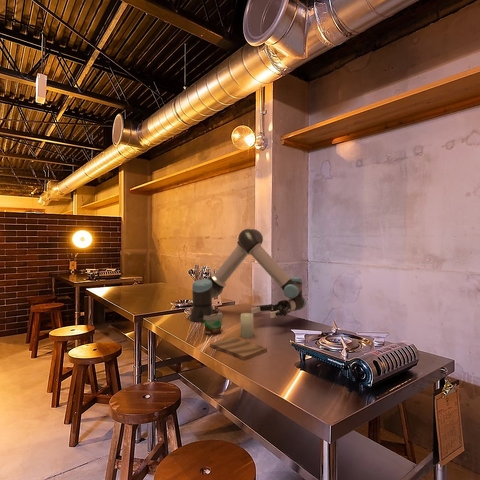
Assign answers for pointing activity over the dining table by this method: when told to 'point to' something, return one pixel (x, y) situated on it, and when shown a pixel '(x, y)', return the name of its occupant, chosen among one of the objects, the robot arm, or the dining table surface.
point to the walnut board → (238, 348)
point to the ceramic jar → (247, 325)
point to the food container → (213, 323)
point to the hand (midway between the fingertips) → (260, 313)
